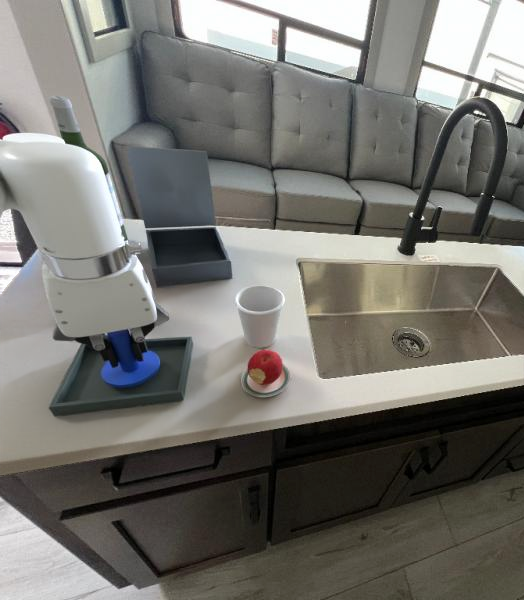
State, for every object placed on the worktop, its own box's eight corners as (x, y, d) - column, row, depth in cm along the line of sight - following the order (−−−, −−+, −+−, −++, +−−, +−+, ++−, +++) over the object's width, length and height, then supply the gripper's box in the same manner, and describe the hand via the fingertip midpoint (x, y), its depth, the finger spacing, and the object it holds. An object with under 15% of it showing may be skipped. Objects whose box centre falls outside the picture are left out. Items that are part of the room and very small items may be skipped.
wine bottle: (80, 239, 75) (23, 89, 58) (123, 234, 80) (83, 94, 63) (89, 256, 72) (31, 101, 54) (133, 249, 77) (93, 106, 59)
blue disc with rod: (89, 376, 49) (70, 337, 45) (135, 346, 55) (122, 309, 50) (129, 394, 48) (113, 357, 44) (171, 362, 54) (161, 326, 49)
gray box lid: (206, 151, 75) (203, 148, 79) (125, 146, 67) (125, 143, 70) (216, 225, 84) (213, 220, 87) (145, 228, 75) (144, 222, 79)
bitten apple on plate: (293, 393, 57) (295, 369, 53) (242, 403, 53) (240, 377, 49) (286, 359, 62) (287, 334, 58) (240, 366, 59) (238, 340, 55)
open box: (232, 278, 77) (231, 261, 74) (156, 287, 69) (151, 268, 66) (218, 243, 87) (216, 226, 84) (150, 247, 79) (145, 229, 76)
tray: (54, 416, 45) (48, 407, 44) (85, 351, 54) (81, 342, 53) (183, 400, 51) (181, 392, 50) (193, 344, 60) (191, 336, 59)
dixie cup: (276, 319, 70) (276, 281, 64) (289, 346, 65) (290, 308, 59) (233, 328, 65) (229, 288, 59) (243, 358, 60) (240, 317, 54)
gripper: (165, 235, 46) (185, 330, 57) (-6, 245, 37) (57, 355, 48) (172, 264, 42) (192, 360, 53) (-20, 283, 33) (52, 394, 44)
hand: (127, 357), depth 50 cm, fingers closed on blue disc with rod, 2 cm apart
